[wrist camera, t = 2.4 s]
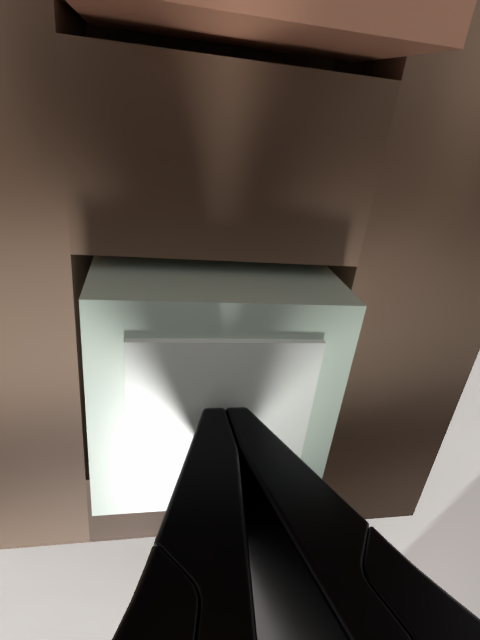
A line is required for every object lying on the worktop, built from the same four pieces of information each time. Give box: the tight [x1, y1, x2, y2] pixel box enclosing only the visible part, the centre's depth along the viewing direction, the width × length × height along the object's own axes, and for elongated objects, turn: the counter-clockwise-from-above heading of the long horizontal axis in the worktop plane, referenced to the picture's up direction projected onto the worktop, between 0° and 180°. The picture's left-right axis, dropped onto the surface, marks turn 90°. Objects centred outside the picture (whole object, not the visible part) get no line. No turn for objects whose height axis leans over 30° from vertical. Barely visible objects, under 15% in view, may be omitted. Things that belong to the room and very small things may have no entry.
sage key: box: [79, 255, 367, 516], centre depth 10 cm, size 5×5×4 cm
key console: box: [0, 0, 480, 549], centre depth 10 cm, size 19×13×5 cm
